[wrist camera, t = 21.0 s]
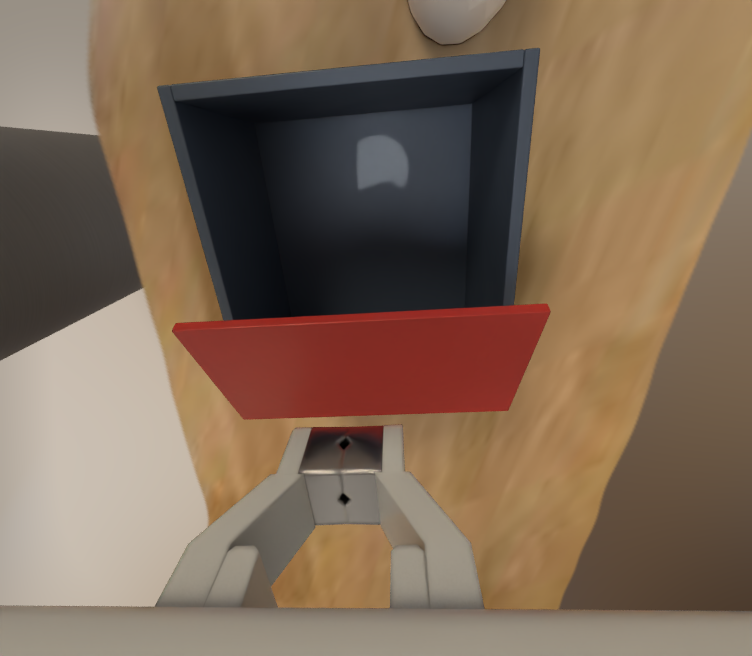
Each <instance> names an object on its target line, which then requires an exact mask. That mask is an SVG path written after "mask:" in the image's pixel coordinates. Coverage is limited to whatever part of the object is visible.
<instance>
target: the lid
mask: <svg viewBox="0 0 752 656" xmlns="http://www.w3.org/2000/svg"><path fill="white" fill-rule="evenodd" d="M550 312H551V311H550V309H549V307H548V304H529V305H510V306H492V307H473V308H454V309H435V310H416V311H397V312H378V313H359V314H340V315H321V316H302V317H283V318H264V319H245V320H226V321H207V322H188V323H176V324H175V326H174V328H173V330H172V332H173V333H174V335H175V336H176V337H177V338H178V339H179V341H180V342H181V343H182V344H183V346H184V347H185V348H186V349H187V350H188V352H189V353H190V354H191V355H192V357H193V358H194V359H195V360H196V362H197V363H198V364H199V365H200V366H201V368H202V369H203V370H204V371H205V373H206V374H207V375H208V376H209V378H210V379H211V380H212V381H213V382H214V384H215V385H216V386H217V387H218V389H219V390H220V391H221V392H222V393H223V395H224V396H225V397H226V398H227V400H228V401H229V402H230V403H231V405H232V406H233V407H234V408H235V409H236V411H237V412H238V413H239V414H240V416H241V417H242V418H243V419H275V418H305V417H335V416H365V415H395V414H425V413H455V412H485V411H508V410H509V408H510V405H511V403H512V401H513V398H514V396H515V394H516V391H517V389H518V387H519V384H520V382H521V380H522V377H523V375H524V373H525V370H526V368H527V366H528V363H529V361H530V359H531V356H532V354H533V352H534V349H535V347H536V345H537V343H538V340H539V338H540V336H541V333H542V331H543V329H544V326H545V324H546V322H547V319H548V317H549V315H550Z"/></svg>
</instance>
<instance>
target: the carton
mask: <svg viewBox="0 0 752 656" xmlns="http://www.w3.org/2000/svg"><path fill="white" fill-rule="evenodd" d="M539 56H540V48H532V49H526V50H523V49H521V50H511V51H501V52H491V53H481V54H471V55H461V56H451V57H441V58H431V59H421V60H411V61H401V62H392V63H382V64H372V65H362V66H352V67H342V68H332V69H322V70H312V71H302V72H292V73H282V74H272V75H262V76H252V77H242V78H232V79H222V80H212V81H202V82H192V83H182V84H172V85H162V86H158V87H157V89H158V92H159V96H160V99H161V103H162V106H163V110H164V113H165V117H166V120H167V124H168V127H169V131H170V134H171V138H172V141H173V145H174V148H175V152H176V155H177V159H178V162H179V166H180V169H181V173H182V176H183V180H184V183H185V187H186V190H187V194H188V197H189V201H190V204H191V208H192V212H193V215H194V219H195V222H196V226H197V229H198V233H199V236H200V240H201V243H202V247H203V250H204V254H205V257H206V261H207V264H208V268H209V271H210V275H211V278H212V282H213V285H214V289H215V292H216V296H217V299H218V303H219V306H220V310H221V313H222V317H223V320H224V321H226V320H245V319H264V318H283V317H302V316H321V315H340V314H359V313H378V312H397V311H416V310H435V309H454V308H473V307H492V306H510V305H514V299H515V289H516V279H517V269H518V260H519V250H520V240H521V230H522V221H523V211H524V201H525V192H526V182H527V172H528V162H529V153H530V143H531V133H532V124H533V114H534V104H535V94H536V85H537V75H538V65H539Z"/></svg>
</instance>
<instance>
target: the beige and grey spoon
mask: <svg viewBox="0 0 752 656" xmlns="http://www.w3.org/2000/svg"><path fill="white" fill-rule="evenodd" d="M505 1H506V0H408V3H409V7H410V10H411V14H412V15H413V17H414V18H415V20H416V22H417V23H418V25H419V27H420V28H421V30H422V31H423V33H424V34H425V35H426V36H428V37H429V38H431V39H433V40H434V41H436V42H438V43H439V44H441V45H442V44H459V43H462V42H463V41H465V40H467V39H468V38H470V37H472V36H473V35H475V34H477V33H478V32H480V31H481V30H482V29H483V28H484V27H485V26H486V25H487V24H488V22H489V21H490V20H491V19H492V18H493V17H494V16H495V14H496V13H497V12H498V11H499V10H500V9H501V8H502V6H503V4H504V3H505Z"/></svg>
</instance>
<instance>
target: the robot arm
mask: <svg viewBox="0 0 752 656" xmlns="http://www.w3.org/2000/svg"><path fill="white" fill-rule="evenodd" d="M335 524H372V525H381V527H382V529H383V531H384V533H385V535H386V536H387V538H388V540H389V542H390V544H391V546H392V547H393V550H392V551H391V586H390V608H278V606H277V603H276V601H275V598H274V595H273V592H272V589H271V586H272V584H273V583H274V582H275V580H276V579H277V578H278V576H279V575H280V574H281V572H282V571H283V570H284V568H285V567H286V566H287V564H288V563H289V562H290V561H291V559H292V558H293V557H294V555H295V554H296V553H297V551H298V550H299V549H300V547H301V546H302V545H303V543H304V542H305V541H306V539H307V538H308V537H309V535H310V534H311V533H312V531H313V530H314V529H315V525H335ZM0 656H752V611H669V610H666V611H665V610H663V611H662V610H536V609H484V604H483V599H482V595H481V590H480V585H479V580H478V575H477V570H476V566H475V561H474V556H473V551H472V546H471V543H470V542H469V540H468V539H467V538H466V537H465V536H464V534H463V533H462V532H461V531H460V530H459V529H458V527H457V526H456V525H455V524H454V523H453V521H452V520H451V519H450V518H449V517H448V516H447V514H446V513H445V512H444V511H443V510H442V509H441V507H440V506H439V505H438V504H437V503H436V501H435V500H434V499H433V498H432V497H431V496H430V494H429V493H428V492H427V491H426V490H425V488H424V487H423V486H422V485H421V484H420V483H419V481H418V480H417V479H416V478H415V477H414V476H413V474H412V473H411V472H405V460H404V441H403V426H402V424H401V425H384V426H362V427H313V428H295V429H294V430H293V431H292V433H291V436H290V438H289V441H288V444H287V446H286V449H285V452H284V454H283V457H282V460H281V462H280V465H279V468H278V470H277V473H276V474H270V475H269V476H268V477H267V478H266V479H265V480H263V481H262V482H261V483H260V484H259V485H257V486H256V487H255V488H254V489H253V490H252V491H250V492H249V493H248V494H247V495H246V496H244V497H243V498H242V499H241V500H240V501H238V502H237V503H236V504H235V505H234V506H233V507H231V508H230V509H229V510H228V511H227V512H225V513H224V514H223V515H222V516H221V517H220V518H218V519H217V520H216V521H215V522H214V523H212V524H211V525H210V526H209V527H208V528H206V529H205V530H204V531H203V532H202V533H201V534H199V535H198V536H197V537H196V538H195V539H193V540H192V541H191V542H190V543H189V544H188V545H187V547H186V549H185V551H184V553H183V555H182V556H181V558H180V560H179V562H178V564H177V566H176V568H175V570H174V572H173V573H172V575H171V577H170V579H169V581H168V583H167V584H166V586H165V588H164V590H163V592H162V594H161V596H160V597H159V599H158V601H157V603H156V605H155V607H121V606H120V607H118V606H116V607H114V606H111V607H109V606H0Z"/></svg>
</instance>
